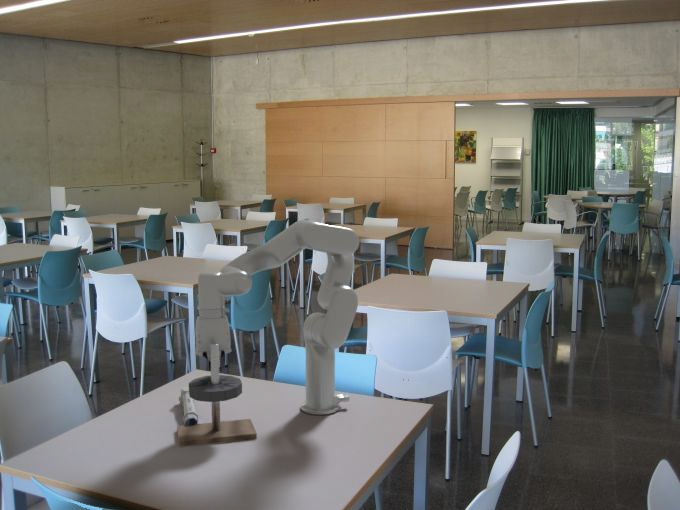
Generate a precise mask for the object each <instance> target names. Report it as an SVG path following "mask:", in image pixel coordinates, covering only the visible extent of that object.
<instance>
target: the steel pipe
mask: <svg viewBox="0 0 680 510" xmlns="http://www.w3.org/2000/svg"><path fill="white" fill-rule="evenodd" d="M210 353H211V371H210V376H211V385H219V384H220V383H219V375H220V360H219V344H218V343H211V344H210ZM220 422H221V401H217V402H211V423H212V431H220Z"/></svg>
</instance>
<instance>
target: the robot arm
mask: <svg viewBox="0 0 680 510" xmlns="http://www.w3.org/2000/svg"><path fill="white" fill-rule="evenodd" d="M359 246H360V238H359V235H358V234H357V232H356V231H355V230H354V229H352V228H349V227H343V226H339V225H332V224H331V225H329V224H325V223H320V222H317V221H312V220H307V219H300V220H298V221H296V222H293V223H292V224H291V225H289V226H288V227H287V228H285V229H283V231H281V232H279V233H278V234H276V235H275V236H273V237H272V238H271V239H269V240H267V241H266V242H265V243H263V244H261V245H258V246H256V247H255V248H253V249H251V250H248V251H246V252H244V253H242V254H241V255H238V256H237V257H236V258H234V259H233V260H232V261H229V263H226V265H225V266H223V267H222V268H221V269H220V270H219V271H218V270H207V271H206V270H205V271H202V272H200V273H199V274H198V277H197V286H198V287H197V288H198V291H197V292H198V294H197V295H198V314H199V316H197V317H196V320H195V331H194V333H195V334H194V335H195V338H194V341H195V352H194V353H195V356H198V357H199V356H200V357H204V358H205V359H206V360H207V361H208V371H209V372H211V353H210V344H211V343H218V344H219V361H220V360H221V359H222V357H223V356H224V355H226V354H229V353H231V352H233V351H232V350H233V349H232V347H231V345H232V344H231V343H232V342H231V331H230V325H229V319H228V316H227V315H226V314H228V313H230V312H231V309H230V307H226V306H225V304H226V303H225V296H239V297H240V296H243V295H246V294H247V293H249V292H250V290H251V289H252V286H253V281H252V278H251V276H253V275H255V274H256V273H259V272H261V271H265V270H273V269H275V268H276V269H277V268H279V267H282V266H283V265H286V263H288V262H289V261H290V260H292V259H293V258H295V256H297V255H298V254H301V252H303V251H304V250H305V249H308V250H312V251H316V252H321V253H325V254H326V256H327V257H326V258H327V265H326V269H325V272H324V276H323V278H322V281H321V285H320V286H319V290H318V292H317V295H316V297H317V298H316V300H317V302H318V305H319V306H320V307H321V308H323V309H324V310H326V313H323V312H313V313H311V314H309V315H308V316H307V317H306V318H305V320H304V322H303V326H302V333H303V341H304V349H305V401H303V402H302V403H301V404H300V410H301V411H302V412H304V413H306V414H309V415H314V416H315V415H317V416H319V415H320V416H323V415H331V414H334V413H336V412H337V411H340V408H341V407H340V403H347V402H349V401H350V396H349V395H344V394H341V393H340V394H336V381H335V380H336V377H335V376H336V352H335V350H337V349H339V348H341V347H342V346H343V345H344V344H345V342H346V340H347V339H348V336H349V335H350V331H351V328H352V325H353V322H354V320H355V316H356V314H357V310H358V306H359V298H358V294H357V292H356V290H355V289H353V288H352V287H350V282H351V279H352V276H353V273H354V267H355V265H354V264H355V262H354V255H353V254H354V253H355V252H357V250H358V249H359Z"/></svg>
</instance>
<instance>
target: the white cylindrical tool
mask: <svg viewBox="0 0 680 510" xmlns="http://www.w3.org/2000/svg"><path fill="white" fill-rule="evenodd" d="M178 401H179V406H181V407H182V408H183V417H182V419H183V423H184V425H193V424H199V417H198V416H199V415H198V414H197V410H196V407H195V401H196V400H195V399H193V398H190V395H189V385H185V386H183V387H182V388H181V390H180V394H179V395H178Z"/></svg>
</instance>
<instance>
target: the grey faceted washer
mask: <svg viewBox="0 0 680 510" xmlns="http://www.w3.org/2000/svg"><path fill="white" fill-rule="evenodd" d="M219 383H220V384H219V385H211V375H204V376H201V377H197V378H194V379H193V380H191V381H190V382H188V386H189V395H190V398H193V399H195V400H194V401H198V402H207V403H212V402H217V401H220V402H227V401H230V400H232V399H236V398H238V397H240V395H241V394H243V382H242V380H241V378H239V377H236V376H233V375H225V374H219Z"/></svg>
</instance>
